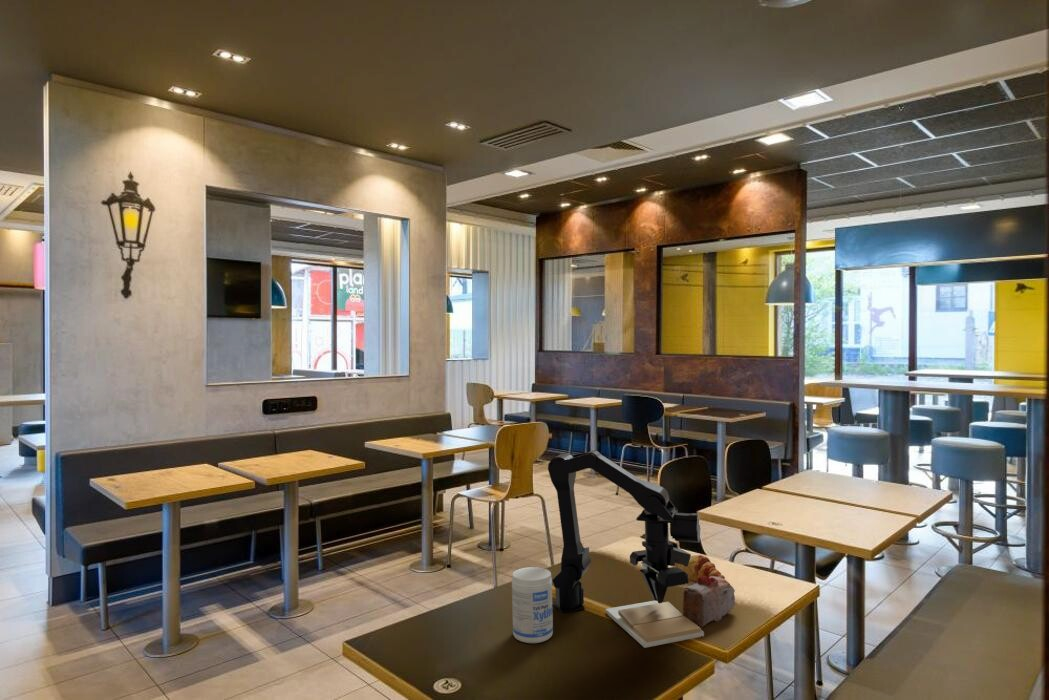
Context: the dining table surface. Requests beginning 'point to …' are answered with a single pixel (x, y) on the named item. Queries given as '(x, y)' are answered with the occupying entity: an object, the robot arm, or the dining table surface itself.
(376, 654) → the dining table surface
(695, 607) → the food item
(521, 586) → the supplement tub
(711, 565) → the croissant
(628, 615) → the click plank
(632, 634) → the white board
